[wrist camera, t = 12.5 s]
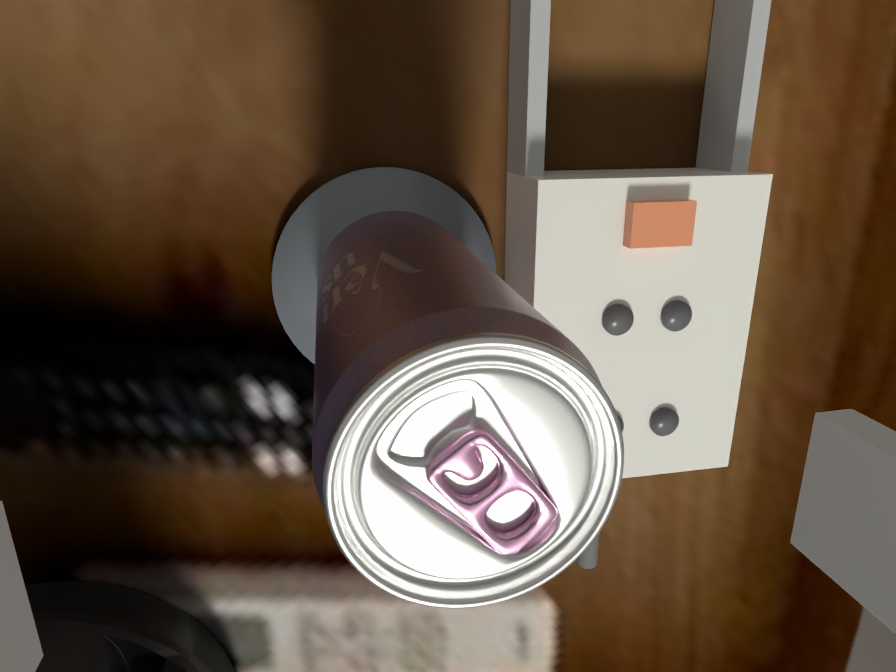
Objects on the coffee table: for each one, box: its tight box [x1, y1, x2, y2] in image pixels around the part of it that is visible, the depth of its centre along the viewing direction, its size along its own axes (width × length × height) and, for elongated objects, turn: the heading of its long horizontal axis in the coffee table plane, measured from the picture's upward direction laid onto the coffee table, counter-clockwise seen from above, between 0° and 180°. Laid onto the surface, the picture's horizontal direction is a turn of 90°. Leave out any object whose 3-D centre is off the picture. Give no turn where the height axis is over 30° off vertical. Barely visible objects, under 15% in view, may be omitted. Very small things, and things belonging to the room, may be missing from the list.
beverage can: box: [312, 211, 624, 608], centre depth 18 cm, size 6×6×15 cm
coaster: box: [272, 166, 496, 364], centre depth 26 cm, size 9×9×1 cm
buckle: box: [504, 0, 773, 569], centre depth 26 cm, size 28×9×5 cm, turn 1°
